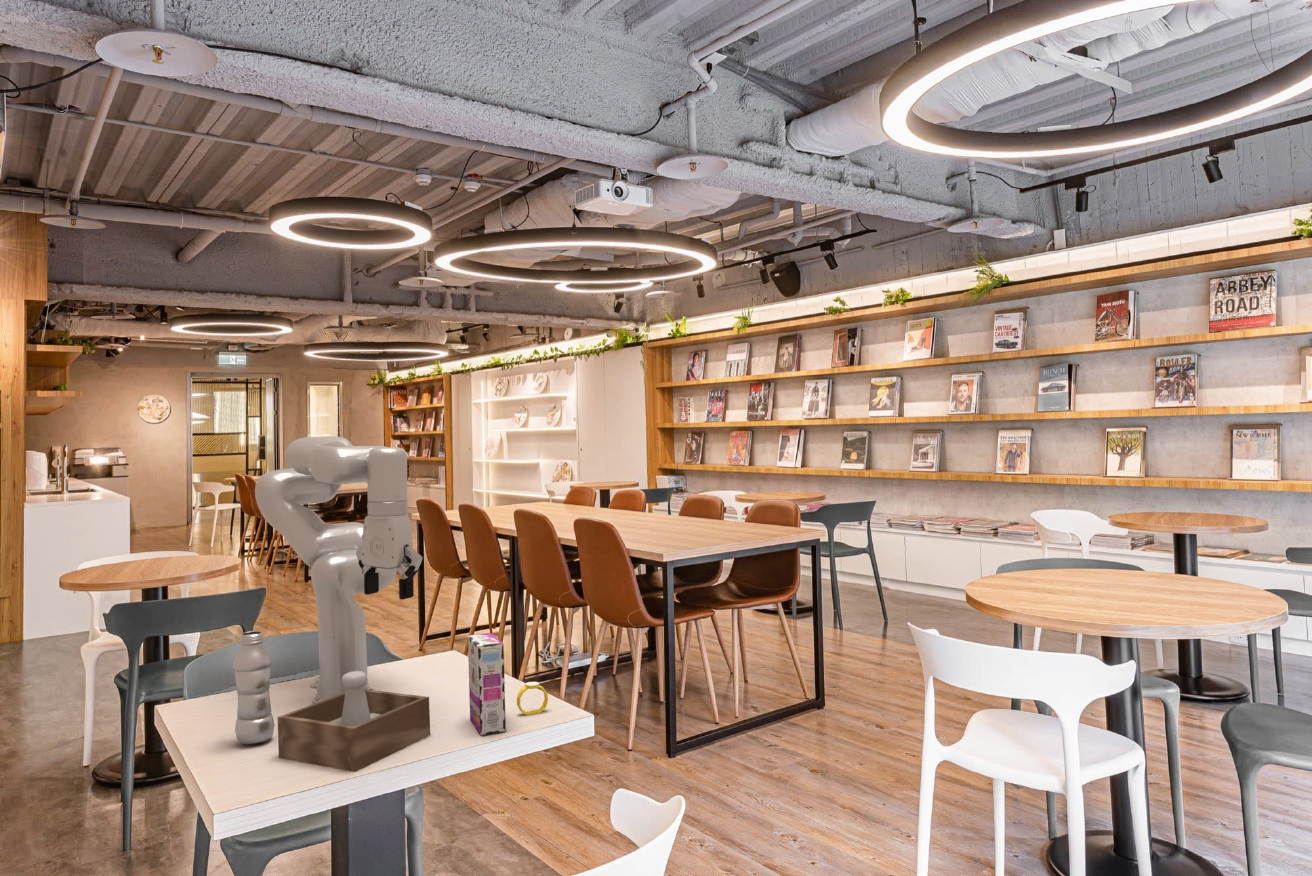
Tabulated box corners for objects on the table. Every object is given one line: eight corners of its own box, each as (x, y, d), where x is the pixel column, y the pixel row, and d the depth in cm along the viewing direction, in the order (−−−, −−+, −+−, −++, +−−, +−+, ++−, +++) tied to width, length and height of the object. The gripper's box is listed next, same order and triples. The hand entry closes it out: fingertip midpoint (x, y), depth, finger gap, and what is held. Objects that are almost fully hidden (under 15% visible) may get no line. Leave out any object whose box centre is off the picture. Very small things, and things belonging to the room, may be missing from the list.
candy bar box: (508, 732, 151) (504, 642, 152) (480, 737, 149) (477, 646, 150) (494, 715, 162) (491, 631, 162) (469, 719, 160) (466, 634, 160)
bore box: (278, 757, 143) (277, 717, 143) (357, 724, 159) (356, 688, 159) (355, 771, 135) (354, 728, 135) (430, 735, 151) (428, 697, 151)
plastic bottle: (249, 751, 147) (245, 638, 147) (227, 745, 150) (224, 635, 151) (282, 739, 152) (278, 631, 153) (260, 734, 156) (257, 628, 156)
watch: (544, 710, 164) (545, 680, 165) (548, 714, 162) (549, 683, 162) (515, 713, 162) (516, 682, 162) (518, 717, 159) (519, 686, 160)
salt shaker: (361, 752, 144) (358, 677, 144) (332, 750, 145) (329, 677, 145) (379, 740, 150) (377, 668, 150) (351, 739, 151) (349, 668, 151)
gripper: (342, 509, 164) (343, 595, 164) (404, 513, 156) (405, 603, 156) (372, 506, 171) (373, 588, 171) (433, 509, 162) (434, 596, 162)
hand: (388, 595), depth 163 cm, fingers open, 9 cm apart
